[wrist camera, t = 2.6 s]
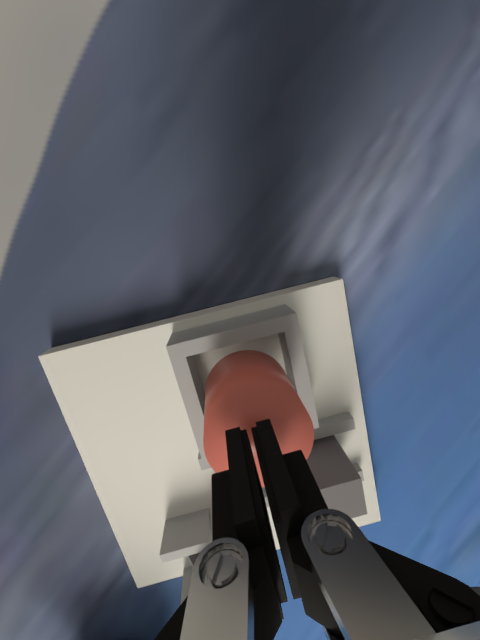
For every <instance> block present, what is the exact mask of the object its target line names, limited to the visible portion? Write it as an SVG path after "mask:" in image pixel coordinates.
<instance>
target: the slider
mask: <svg viewBox="0 0 480 640" xmlns="http://www.w3.org/2000/svg"><path fill="white" fill-rule="evenodd" d="M306 461H307V463H308V465H309V467H310V470H311V472H312V474H313V476H314V478H315V480H316V483H317V485H318V487H319V489H320V491H321V494H322V496H323V498H324V500H325V502H326V504H327V507H328V509H335V510H339V511H341V512H343V513H345V514H347V515H348V516H349V517H350V518H351V519H352V518H355V517H359V516H362V515H366V514H367V508H366V502H365V496H364V490H363V485H362V479H361V477H360V475H359V474H358V472H357V471H356V469H355V467H354V466H353V464H352V463H351V461H350V460H349V458H348V457H347V455H346V453H345V452H344V450H343V449H342V447H341V446H340V444H339V443H338V441H337V439H336V438H335V436H334V435H331V436H328V437H324V438H320V439H316V440H314V442H313V447H312V450H311V452H310V455H309V457H308V459H307V460H306Z"/></svg>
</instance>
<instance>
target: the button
mask: <svg viewBox="0 0 480 640" xmlns="http://www.w3.org/2000/svg"><path fill="white" fill-rule="evenodd" d="M266 419H270V421H271V424H272V427H273V429H274V432H275V435H276V438H277V441H278V443H279V446H280V449H281V452H282V455H283V454H286V453H290V452H293V451H297V450H302V452H303V454H304V456H305V459H306V460H307V459H308V457H309V455H310V452H311V450H312V447H313V442H314V428H313V423H312V420H311V418H310V415H309V413H308V412H307V410H306V408H305V406H304V405H303V403H302V401H301V399H300V398H299V396H298V394H297V392H296V391H295V389H294V387H293V385H292V384H291V382H290V380H289V379H288V377H287V375H286V373H285V372H284V370H283V368H282V367H281V365H280V364H279V363H278V362H277V361H276V360H275V359H274V358H272V357H271V356H269V355H267V354H265V353H263V352H260V351H255V350H242V351H237V352H234V353H231V354H229V355H227V356H225V357H224V358H222V359H221V360H220V361H219V362H217V363H216V365H215V366H214V367H213V368H212V370H211V371H210V373H209V375H208V378H207V381H206V387H205V409H204V434H203V447H204V452H205V456H206V458H207V461H208V463H209V464H210V466H211V467H212V469H213V470H214V471H215V472H216V473H218V472H221V471H225V470H229V467H228V456H227V445H226V435H225V430H229V429H233V428H236V427H240V429H241V430H245V429H246V430H247V434H248V437H249V441H250V445H251V449H252V452H253V456H254V460H255V464H256V467H257V471H258V475H259V479H260V482H261V486H262V487H265V486H264V482H263V478H262V473H261V469H260V465H259V461H258V456H257V452H256V448H255V444H254V439H253V435H252V431H251V428H252V427H256V423H255V422H258V421H262V420H266Z"/></svg>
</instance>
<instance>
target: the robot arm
mask: <svg viewBox="0 0 480 640" xmlns="http://www.w3.org/2000/svg"><path fill="white" fill-rule="evenodd" d="M255 423H256V427H252V428H251V431H252V435H253V439H254V444H255V448H256V452H257V456H258V461H259V465H260V469H261V473H262V478H263V482H264V486H265V490H266V495H267V499H268V503H269V507H270V511H271V515H272V519H273V523H274V527H275V531H276V534H277V538H278V542H279V546H280V550H281V553H282V557H283V561H284V565H285V568H286V572H287V576H288V580H289V584H290V587H291V591H292V595H293V599H297V598H300V597H301V598H302V602H303V606H304V610H305V612H306V615H308V616H309V617H311V618H312V619H314V620H315V621H317V622H318V623H320V624H321V625H322V626H323V629H324V632H325V635H326V638H327V640H480V587H469V586H468V585H466V584H464V583H462V582H461V581H459V580H457V579H455V578H453V577H451V576H449V575H446V574H444V573H442V572H439V571H437V570H435V569H433V568H430V567H428V566H426V565H423V564H421V563H419V562H416V561H414V560H412V559H410V558H407V557H405V556H403V555H400V554H398V553H396V552H394V551H391V550H389V549H387V548H384V547H382V546H380V545H378V544H375V543H373V542H371V541H368V540H367V538H366V537H365V536H364V534H363V533H362V531H361V530H360V529H359V527H358V526H357V525H356V523H355V522H354V521H353V520H352V519H351V518H350V517H349V516H348V515H347V514H345V513H343V512H341V511H339V510H335V509H328V507H327V504H326V502H325V500H324V498H323V496H322V494H321V491H320V489H319V487H318V485H317V483H316V480H315V478H314V476H313V474H312V472H311V470H310V467H309V465H308V463H307V461H306V459H305V456H304V454H303V452H302V450H297V451H293V452H290V453H286V454H283V455H282V452H281V449H280V446H279V443H278V441H277V438H276V435H275V432H274V429H273V427H272V424H271V421H270V419H266V420H262V421H258V422H255ZM225 435H226V445H227V456H228V467H229V470H225V471H221V472H218V473H214V474H212V478H211V481H212V540H213V542H211V543H209V544H208V545H207V546H206V547H205V548H204V549H203V550H202V551H201V552H200V553H199V555H198V557H197V558H196V561H195V564H194V567H193V571H192V576H191V582H190V587H189V593H188V596H187V597H186V599H185V600H184V601H183V602H182V604H181V605H180V606H179V608H178V609H177V610H176V612H175V613H174V614H173V616H172V617H171V618H170V620H169V621H168V622H167V624H166V625H165V626H164V628H163V629H162V630H161V631H160V633H159V634H158V635H157V637H156V638H155V639H154V640H274V637H275V635H276V633H277V631H278V629H279V627H280V625H281V623H282V619H284V618H283V613H282V608H281V603H283V602H287V596H286V591H285V587H284V582H283V578H282V574H281V569H280V565H279V560H278V556H277V551H276V547H275V542H274V538H273V533H272V529H271V525H270V520H269V516H268V511H267V507H266V502H265V498H264V494H263V490H262V486H261V482H260V479H259V475H258V471H257V467H256V464H255V460H254V456H253V452H252V449H251V445H250V441H249V437H248V434H247V430H246V429H245V430H241V429H240V427H236V428H233V429H229V430H225Z"/></svg>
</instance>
